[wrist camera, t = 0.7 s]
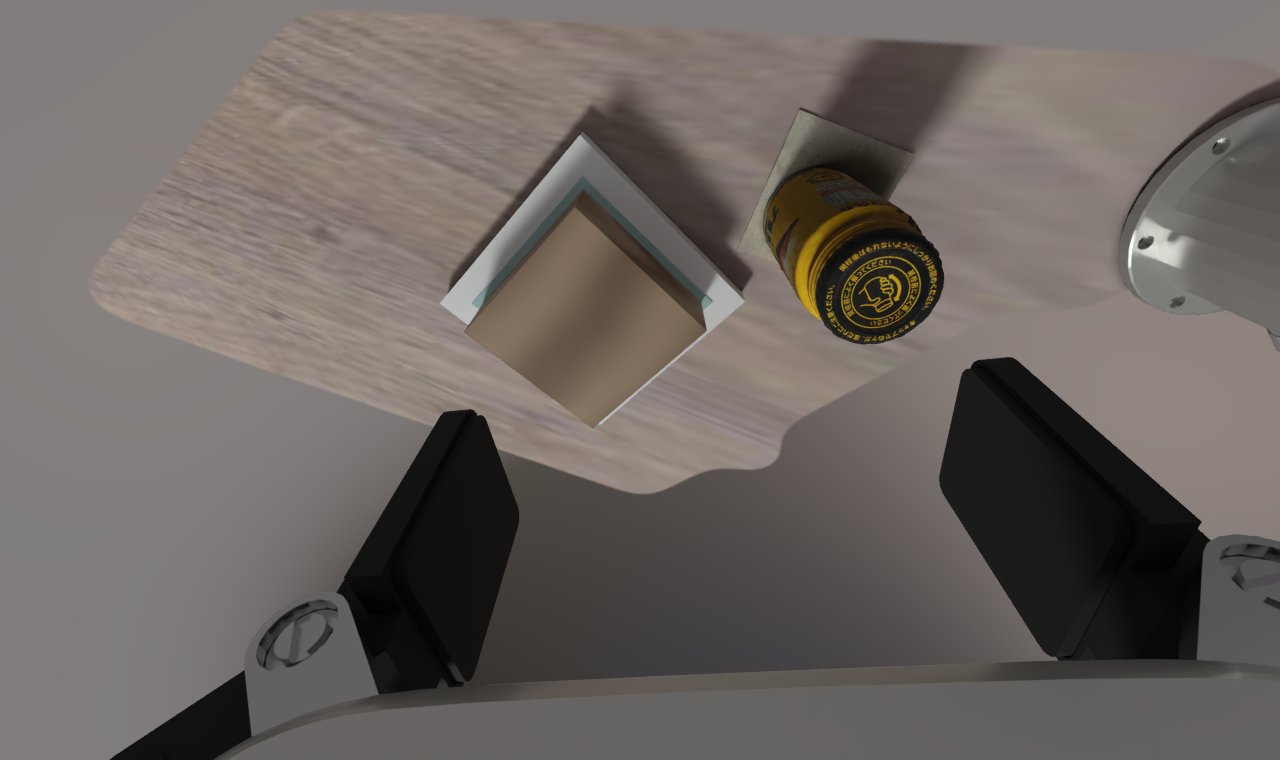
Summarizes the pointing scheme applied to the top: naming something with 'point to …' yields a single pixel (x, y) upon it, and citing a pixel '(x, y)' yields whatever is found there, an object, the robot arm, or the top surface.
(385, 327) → the top surface
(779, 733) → the robot arm
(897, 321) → the condiment
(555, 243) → the base block
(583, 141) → the build board
